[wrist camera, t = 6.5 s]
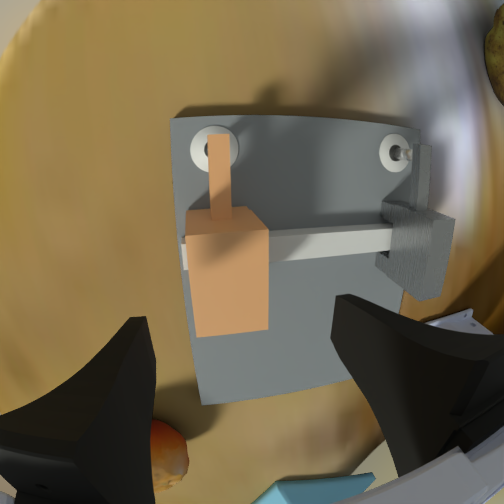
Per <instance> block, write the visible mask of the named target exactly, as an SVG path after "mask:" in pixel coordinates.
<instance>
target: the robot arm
mask: <svg viewBox="0 0 504 504" xmlns="http://www.w3.org/2000/svg"><path fill="white" fill-rule="evenodd" d="M472 314H473V310H472V309H471V308H470V309H467V310H464V311H461V312H458V313H455V314H452V315H449V316H446V317H443V318H439V319H436V320H433V321H430V322H426V323H422V322H419V321H416V320H413V319H410V318H408V317H405V316H402V315H400V314H397V313H395V312H393V311H390V310H388V309H386V308H383V307H381V306H379V305H377V304H374V303H372V302H370V301H368V300H365V299H363V298H361V297H358V296H355V295H352V294H343V295H336V297H335V305H334V313H333V321H332V329H331V336H330V339H331V341H332V343H333V345H334V348H335V350H336V352H337V354H338V356H339V358H340V360H341V361H342V363H343V364H344V366H345V367H346V369H347V370H348V372H349V373H350V375H351V376H352V378H353V379H354V381H355V382H356V384H357V385H358V387H359V388H360V390H361V391H362V393H363V394H364V396H365V397H366V399H367V401H368V402H369V404H370V406H371V408H372V410H373V412H374V414H375V416H376V419H377V421H378V423H379V425H380V427H381V430H382V432H383V434H384V437H385V439H386V442H387V444H388V447H389V449H390V452H391V455H392V457H393V461H394V464H395V467H396V470H397V474H398V477H399V478H397V479H395V480H392V481H390V482H388V483H386V484H383V485H381V486H379V487H376V488H374V489H371V490H369V491H366V492H363V493H361V494H358V495H355V496H352V497H350V498H347V499H344V500H341V501H338V502H335V503H331V504H484V503H486V502H487V501H488V500H489V499H490V498H491V497H493V496H494V495H495V494H496V493H497V492H499V491H500V490H501V489H502V488H503V487H504V334H499V335H494V334H493V333H491V332H490V331H489V330H488V329H486V328H485V327H484V326H482V325H481V324H480V323H479V322H477V321H476V320H475V319H473V318H472ZM155 388H156V358H155V354H154V349H153V345H152V341H151V337H150V332H149V328H148V323H147V318H146V316H142V317H130V318H129V319H128V320H127V321H126V322H125V324H124V325H123V326H122V327H121V328H120V329H119V330H118V332H117V333H116V334H115V335H114V336H113V337H112V338H111V340H110V341H109V342H108V343H107V344H106V345H105V346H104V347H103V348H102V349H101V350H100V351H99V352H98V353H97V354H96V355H95V356H94V357H93V358H92V359H91V360H90V361H89V362H88V363H87V364H86V365H85V366H84V367H83V368H82V369H81V370H79V371H78V372H77V373H76V374H74V375H73V376H72V377H71V378H69V379H68V380H67V381H65V382H64V383H62V384H61V385H59V386H58V387H56V388H55V389H53V390H52V391H51V392H49V393H47V394H46V395H44V396H42V397H40V398H39V399H37V400H35V401H33V402H31V403H29V404H27V405H25V406H23V407H20V408H18V409H15V410H13V411H10V412H8V413H5V414H3V415H0V475H1V476H2V477H3V478H4V479H5V480H6V481H7V482H8V483H10V484H11V485H12V486H13V487H14V488H15V489H16V490H17V493H16V498H14V497H12V496H10V495H9V494H6V493H4V492H2V491H0V504H155V496H154V488H153V478H152V465H151V444H150V437H151V423H152V414H153V405H154V397H155Z"/></svg>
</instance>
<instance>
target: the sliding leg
mask: <svg viewBox="0 0 504 504" xmlns="http://www.w3.org/2000/svg"><path fill="white" fill-rule="evenodd" d="M207 142H208V148H207V151H208V170H209V192H210V209H198V210H186V224H185V241H186V251H187V262H188V271H189V280H190V289H191V298H192V306H193V314H194V322H195V329H196V336H197V338H198V337H208V336H218V335H227V334H236V333H244V332H252V331H260V330H268V309H269V229H268V228H267V227H266V226H265V225H264V224H263V222H262V221H261V220H260V219H259V218H258V217H257V216H256V215H255V214H254V212H253V211H252V210H249V209H248V207H247V206H240V207H232V205H231V175H230V139H229V134H210V135H207Z"/></svg>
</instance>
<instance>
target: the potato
mask: <svg viewBox="0 0 504 504" xmlns="http://www.w3.org/2000/svg"><path fill="white" fill-rule="evenodd" d="M485 61H486V66H487V71H488V75H489V78H490V81H491V84H492V87H493V90H494V92H495V95H496V96H497V98H498V100H499V101H500V102H501V104H502V105H503V106H504V4H503V5H502V6H500V8H499V9H497V11H496V13H495V16H494V25H493V28H492V29H491V30H490V31H489V33H488V34H487V36H486V40H485Z"/></svg>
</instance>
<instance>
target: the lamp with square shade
mask: <svg viewBox="0 0 504 504" xmlns="http://www.w3.org/2000/svg"><path fill="white" fill-rule="evenodd" d="M375 479H376V478H375V477H374V475H373V473H372V472H370V473H364V474H358V475H351V476H343V477H334V478H324V479H312V480H294V481H275V482H274V483H273V484H272V485H271V486H270V487H269V488H268V489H267V490H266V491H265V492H264V493H263V494H261V495H260V496H259V497H258V498H257V499H256V500H255V501H254V502H252V503H251V504H331V503H335V502H338V501H341V500H344V499H347V498H350V497H352V496H355V495H358V494H361V493H363V492H364V491H365V490H366V488H368V486H370V485H371V483H372V482H373V481H374V480H375Z"/></svg>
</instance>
